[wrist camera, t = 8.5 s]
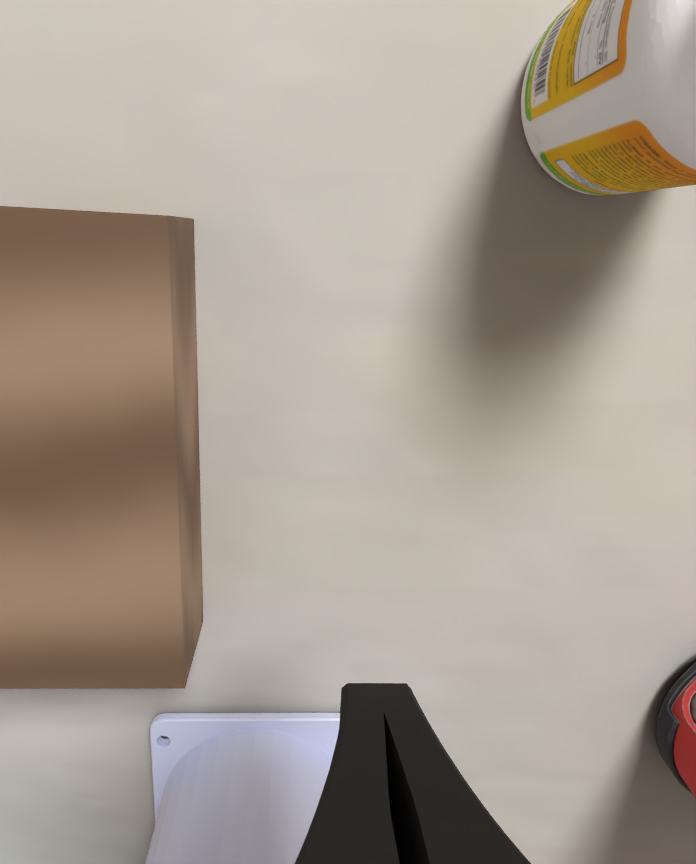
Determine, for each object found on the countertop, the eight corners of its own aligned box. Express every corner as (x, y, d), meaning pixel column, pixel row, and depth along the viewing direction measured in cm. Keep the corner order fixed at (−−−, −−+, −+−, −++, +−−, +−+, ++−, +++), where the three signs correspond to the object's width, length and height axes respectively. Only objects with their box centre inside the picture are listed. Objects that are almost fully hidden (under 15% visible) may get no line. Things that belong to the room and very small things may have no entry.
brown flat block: (202, 620, 22) (184, 688, 19) (-82, 618, 22) (-153, 688, 18) (193, 218, 18) (167, 215, 15) (-163, 198, 17) (-275, 190, 14)
